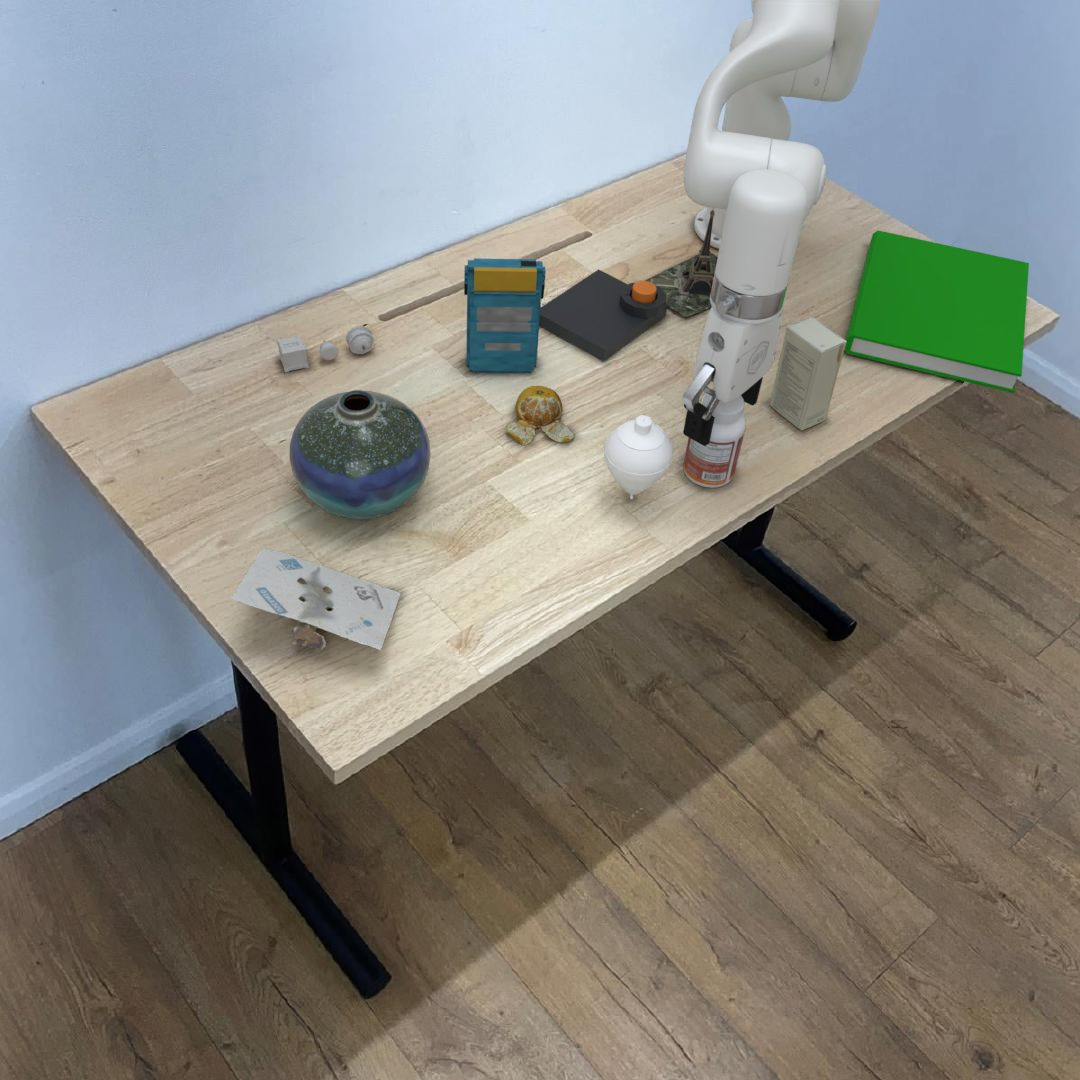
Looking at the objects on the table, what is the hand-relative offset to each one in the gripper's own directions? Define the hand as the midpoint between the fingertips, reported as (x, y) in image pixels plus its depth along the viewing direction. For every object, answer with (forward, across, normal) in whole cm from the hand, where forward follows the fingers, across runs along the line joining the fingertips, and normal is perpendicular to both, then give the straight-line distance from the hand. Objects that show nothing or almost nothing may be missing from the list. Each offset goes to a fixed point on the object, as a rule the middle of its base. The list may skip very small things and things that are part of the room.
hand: (720, 418), depth 133 cm
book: (+8, +49, -5) cm, 50 cm away
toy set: (+7, -17, +47) cm, 50 cm away
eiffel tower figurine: (+8, +31, +23) cm, 40 cm away
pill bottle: (+9, 0, 0) cm, 9 cm away
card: (+9, -49, +17) cm, 53 cm away
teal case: (+9, -2, +31) cm, 32 cm away
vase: (+9, -30, +27) cm, 41 cm away
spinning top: (+9, -10, +4) cm, 14 cm away
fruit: (+9, -8, +20) cm, 23 cm away
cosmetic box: (+9, +17, -2) cm, 19 cm away
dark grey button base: (+8, +15, +28) cm, 33 cm away
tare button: (+5, +20, +25) cm, 32 cm away
